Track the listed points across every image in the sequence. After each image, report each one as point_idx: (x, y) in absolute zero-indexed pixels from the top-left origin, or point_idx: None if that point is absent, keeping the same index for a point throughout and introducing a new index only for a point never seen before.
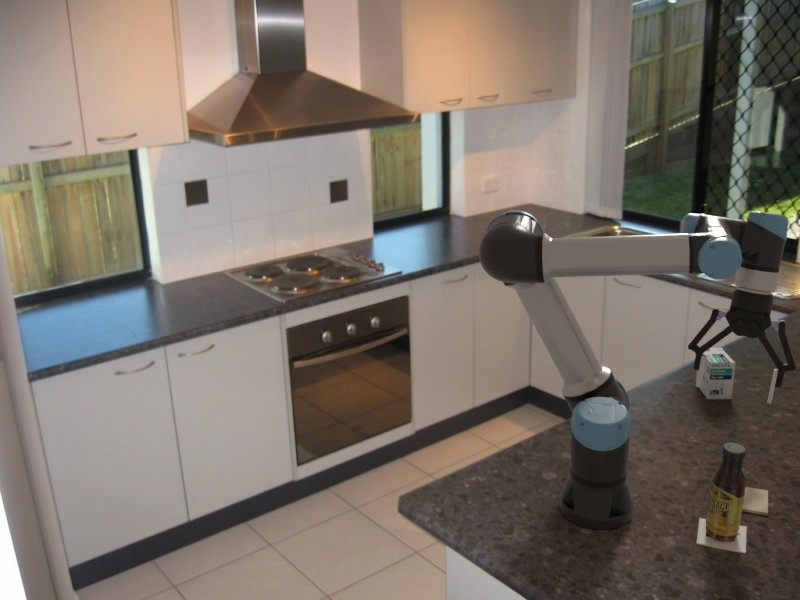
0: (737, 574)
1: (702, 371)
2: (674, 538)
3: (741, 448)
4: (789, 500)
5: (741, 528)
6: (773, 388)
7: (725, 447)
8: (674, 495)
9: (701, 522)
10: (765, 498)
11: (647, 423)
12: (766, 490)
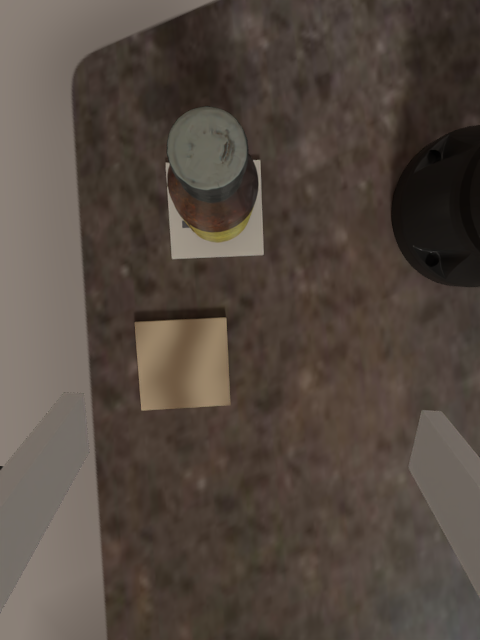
0: (174, 84)
1: (467, 471)
2: (302, 165)
3: (182, 151)
4: (99, 396)
5: (181, 247)
6: (27, 443)
7: (240, 136)
8: (319, 326)
9: (258, 239)
10: (144, 377)
11: (405, 594)
12: (144, 409)
